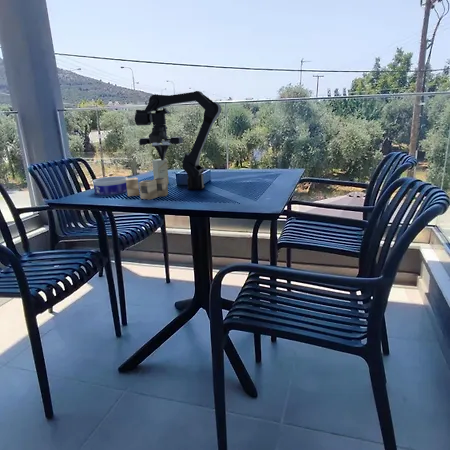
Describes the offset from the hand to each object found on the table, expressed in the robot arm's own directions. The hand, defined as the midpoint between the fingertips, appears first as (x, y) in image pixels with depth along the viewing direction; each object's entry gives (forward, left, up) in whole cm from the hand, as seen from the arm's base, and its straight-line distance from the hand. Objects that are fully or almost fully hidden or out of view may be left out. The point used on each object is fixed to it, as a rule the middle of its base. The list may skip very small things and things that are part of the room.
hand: (162, 160), depth 163 cm
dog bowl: (+24, +6, -13) cm, 28 cm away
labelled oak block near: (0, +19, -13) cm, 23 cm away
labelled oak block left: (-3, +14, -13) cm, 19 cm away
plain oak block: (+10, +13, -13) cm, 21 cm away
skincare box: (+6, -11, -13) cm, 18 cm away
